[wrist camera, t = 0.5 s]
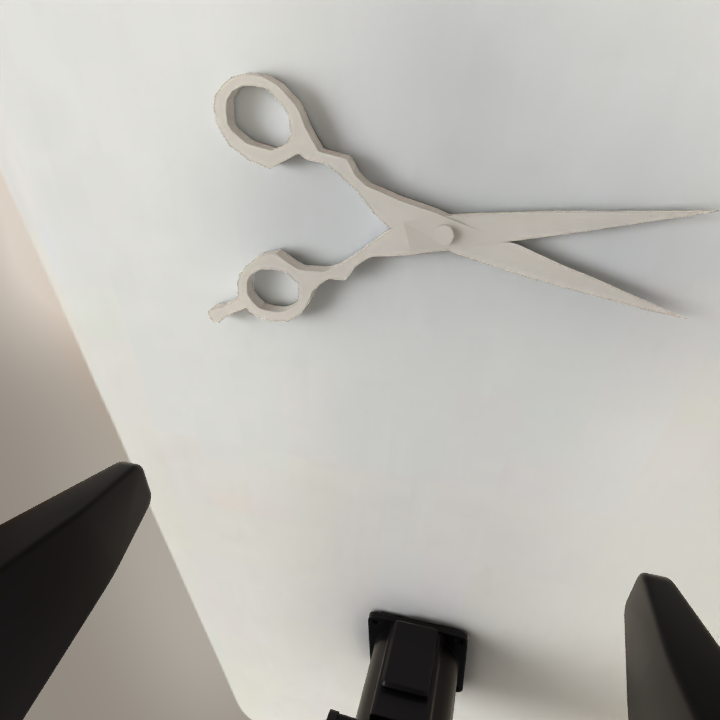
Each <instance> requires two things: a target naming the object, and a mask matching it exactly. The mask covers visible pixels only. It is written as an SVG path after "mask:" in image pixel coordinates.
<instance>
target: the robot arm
mask: <svg viewBox="0 0 720 720" xmlns="http://www.w3.org/2000/svg"><path fill="white" fill-rule="evenodd" d="M150 500H151V492H150V489H149V486H148V483H147V480H146V477H145V474H144V471H143V468H142V467H141V466H140V465H137V464H133V463H128V462H119V463H116V464H114V465H112V466H110V467H108V468H107V469H105V470H103V471H101V472H99V473H97V474H95V475H93V476H91V477H90V478H88V479H86V480H84V481H82V482H80V483H78V484H76V485H75V486H73V487H71V488H69V489H67V490H65V491H63V492H61V493H60V494H58V495H56V496H54V497H52V498H50V499H48V500H46V501H44V502H43V503H41V504H39V505H37V506H35V507H33V508H31V509H29V510H27V511H26V512H24V513H22V514H20V515H18V516H16V517H14V518H13V519H11V520H9V521H7V522H5V523H3V524H1V525H0V720H23V719H24V717H25V715H26V714H27V712H28V711H29V709H30V708H31V706H32V704H33V703H34V701H35V700H36V698H37V696H38V695H39V693H40V691H41V690H42V689H43V687H44V685H45V684H46V682H47V681H48V679H49V677H50V676H51V674H52V672H53V671H54V669H55V668H56V666H57V665H58V663H59V662H60V660H61V658H62V657H63V655H64V654H65V652H66V650H67V649H68V647H69V646H70V644H71V642H72V641H73V639H74V638H75V636H76V635H77V633H78V631H79V630H80V628H81V627H82V625H83V623H84V622H85V620H86V619H87V617H88V616H89V614H90V612H91V611H92V609H93V608H94V606H95V604H96V603H97V601H98V600H99V598H100V597H101V595H102V593H103V592H104V590H105V589H106V587H107V585H108V584H109V582H110V580H111V579H112V577H113V575H114V573H115V571H116V570H117V568H118V566H119V564H120V562H121V560H122V558H123V556H124V554H125V552H126V550H127V548H128V546H129V544H130V542H131V540H132V538H133V536H134V534H135V532H136V530H137V528H138V527H139V525H140V522H141V521H142V519H143V517H144V515H145V513H146V510H147V509H148V507H149V504H150ZM624 619H625V647H626V675H627V702H628V718H629V720H720V647H719V645H718V644H717V643H716V641H715V640H714V638H713V637H712V636H711V634H710V633H709V631H708V630H707V629H706V627H705V626H704V625H703V623H702V622H701V620H700V619H699V618H698V616H697V615H696V613H695V612H694V611H693V609H692V608H691V606H690V605H689V604H688V602H687V601H686V599H685V598H684V597H683V595H682V594H681V592H680V591H679V590H678V588H677V587H676V585H675V584H674V583H673V582H672V581H671V580H670V579H668V578H666V577H662V576H658V575H653V574H648V573H642V574H640V575H639V576H638V578H637V580H636V582H635V584H634V587H633V589H632V591H631V593H630V595H629V597H628V599H627V602H626V606H625V614H624ZM368 626H369V644H370V665H369V669H368V673H367V677H366V680H365V684H364V688H363V692H362V696H361V700H360V704H359V708H358V712H357V715H356V718H352V717H349V716H346V715H342V714H339V711H335V710H332V709H330V712H329V714H328V717H327V720H453V711H454V702H455V694H456V692H461V691H462V689H463V680H464V671H465V662H466V652H467V643H468V635H467V634H466V633H465V632H462V631H459V630H455V629H450V628H446V627H441V626H437V625H433V624H428V623H424V622H420V621H415V620H411V619H406V618H402V617H398V616H393V615H389V614H385V613H380V612H375V611H374V612H371V613H370V615H369V619H368Z"/></svg>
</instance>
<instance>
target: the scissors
mask: <svg viewBox="0 0 720 720" xmlns="http://www.w3.org/2000/svg"><path fill="white" fill-rule="evenodd" d="M245 86H256V87H262V88H266V89H267V90H268V91H269V92H270V93H271V94H272V95H273V96H274V97H275V98H276V99H277V100H278V101H279V103H280V104H281V105H282V106H283V107H284V108H285V110H286V112H287V113H288V115H289V122H290V133H291V135H290V137H289V139H288V141H287V143H286V144H284V145H282V146H280V147H278V148H277V147H273V146H269V145H266V144H262V143H259V142H256V141H253V140H252V139H251V138H250V137H248V136H247V135H246V134H245V133H244V132H243V131H241V130H240V129H239V128H238V126H237V124H236V123H235V117H234V98H235V96H236V95H237V93H238V92H239V90H240V89H242V88H244V87H245ZM214 112H215V118H216V123H217V126H218V128H219V129H220V131H221V133H222V134H223V136H224V138H225V139H226V141H227V143H228V144H229V146H231V147H232V148H233V149H235V150H236V151H237V152H239V153H240V154H241V155H243V156H244V157H245V158H247V159H248V160H249V161H252V162H254V163H257V164H259V165H261V166H264V167H266V168H268V169H271V168H273V167H275V166H277V165H279V164H281V163H282V162H284V161H286V160H288V159H290V158H291V157H293V156H295V155H297V154H300V155H301V156H302V157H303V158H305V159H306V160H311V161H315V162H320V163H325V164H327V165H328V166H329V167H331V168H332V169H333V170H334V171H335V172H337V173H338V174H339V175H340V176H341V177H342V178H343V179H344V180H346V181H347V182H348V183H349V184H350V185H351V186H352V187H353V188H354V189H355V190H356V191H357V192H358V193H359V194H360V196H361V197H362V198H363V199H364V200H365V202H366V203H367V205H368V206H369V207H370V209H371V210H372V212H373V213H374V214H375V215H376V216H377V217H378V218H379V219H380V220H381V221H382V222H383V223H384V224H385V225H386V226H387V227H388V228H390V229H389V230H387V231H386V232H385V233H383V234H382V235H380V236H379V237H378V238H376V239H375V240H373V241H372V242H370V243H369V244H368V245H366V246H365V247H364V248H362V249H361V250H360V251H359V252H357V253H356V254H355V255H353V256H352V257H350V258H348V259H347V260H345V261H343V262H341V263H338V264H335V265H332V266H313V265H304V264H302V263H300V262H299V261H297V260H295V259H294V258H293V257H291V256H290V255H289V254H287V253H286V252H285V251H283V250H282V249H278V250H273V251H268V252H265V253H263V254H261V255H260V256H259V257H257V258H256V259H255V260H253V261H252V262H251V263H249V264H248V265H247V266H246V267H245V268H244V270H243V271H242V272H241V273H240V274H239V279H238V283H237V286H238V297H237V298H235V299H234V300H232V301H230V302H229V303H221V304H218V305H215V306H214V307H213V308H211V309H210V310H209V311H208V313H209V317H210V319H211V320H212V321H213V322H221V321H222V320H223V319H224V318H225V317H226V316H227V315H229V314H232V313H235V312H238V311H240V310H242V309H244V308H247V309H248V310H249V312H250V313H251V314H252V315H255V316H257V317H260V318H263V319H265V320H268V321H290V320H292V319H293V318H295V317H296V316H298V315H299V314H300V313H301V312H303V311H304V309H305V308H306V307H307V306H308V304H309V303H310V301H311V300H312V299H313V297H314V294H315V290H316V288H317V287H318V286H319V285H320V284H321V283H323V282H324V281H325V280H326V279H333V280H346V279H347V278H348V277H349V275H350V274H351V273H352V271H353V270H354V268H355V267H356V266H357V265H359V264H360V263H362V262H363V261H364V260H366V259H367V258H369V257H387V256H403V255H414V254H422V253H429V252H436V251H444V250H445V251H448V252H451V253H454V254H457V255H461V256H464V257H467V258H470V259H473V260H476V261H479V262H482V263H485V264H488V265H491V266H494V267H497V268H500V269H503V270H506V271H509V272H512V273H515V274H519V275H522V276H526V277H529V278H532V279H536V280H539V281H543V282H546V283H550V284H553V285H557V286H561V287H564V288H568V289H572V290H576V291H579V292H583V293H587V294H591V295H594V296H598V297H601V298H605V299H608V300H612V301H615V302H619V303H622V304H625V305H629V306H632V307H636V308H639V309H644V310H648V311H653V312H657V313H662V314H666V315H671V316H675V317H680V318H683V317H681V316H679V315H677V314H674V313H672V312H670V311H668V310H665V309H663V308H661V307H659V306H656V305H654V304H652V303H650V302H647V301H645V300H643V299H641V298H638V297H636V296H634V295H632V294H629V293H627V292H625V291H623V290H620V289H618V288H616V287H614V286H611V285H609V284H607V283H605V282H602V281H600V280H598V279H596V278H593V277H591V276H588V275H586V274H583V273H581V272H578V271H576V270H574V269H571V268H569V267H566V266H564V265H561V264H559V263H557V262H555V261H552V260H550V259H548V258H546V257H544V256H542V255H540V254H538V253H535V252H533V251H531V250H529V249H527V248H525V247H523V246H521V245H518V244H514V243H511V241H519V240H526V239H533V238H541V237H548V236H556V235H563V234H571V233H578V232H585V231H591V230H598V229H605V228H611V227H618V226H624V225H631V224H638V223H644V222H651V221H657V220H664V219H671V218H677V217H684V216H690V215H697V214H704V213H710V212H717V211H720V210H679V211H524V212H494V213H463V214H448V213H446V212H444V211H442V210H440V209H438V208H435V207H432V206H429V205H426V204H423V203H420V202H417V201H414V200H412V199H409V198H406V197H403V196H400V195H398V194H396V193H394V192H392V191H389V190H387V189H385V188H383V187H380V186H378V185H375V184H372V183H371V182H369V181H368V180H367V179H366V178H365V177H364V176H363V175H362V174H361V173H360V172H359V170H358V168H357V166H356V164H355V162H354V160H353V158H352V156H350V155H346V154H342V153H338V152H335V151H331V150H327V149H324V148H323V146H322V144H321V143H320V141H319V139H318V137H317V136H316V134H315V132H314V130H313V128H312V126H311V124H310V122H309V119H308V116H307V113H306V111H305V109H304V107H303V105H302V104H301V102H300V101H299V100H298V99H297V98H296V97H295V95H294V94H293V93H292V92H291V91H290V90H289V89H288V88H287V87H286V86H285V85H284V84H283V83H282V82H280V81H278V80H276V79H275V78H273V77H271V76H269V75H265V74H256V73H246V74H241V75H237V76H234V77H231V78H230V79H229V80H228V81H226V82H225V83H224V84H223V85H222V86H221V87H220V89H219V90H218V92H217V93H216V95H215V100H214ZM262 269H274V270H278V271H282V272H286V273H287V274H288V275H289V276H290V277H291V278H292V279H293V280H294V281H296V282H297V283H298V301H297V302H295V303H294V304H292V305H289V306H276V305H271V304H268V303H265V302H264V301H263V300H262V299H261V298H259V297H258V295H257V294H256V292H255V291H254V289H253V276H254V274H255V272H256V271H259V270H262ZM684 319H686V318H684Z"/></svg>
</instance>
